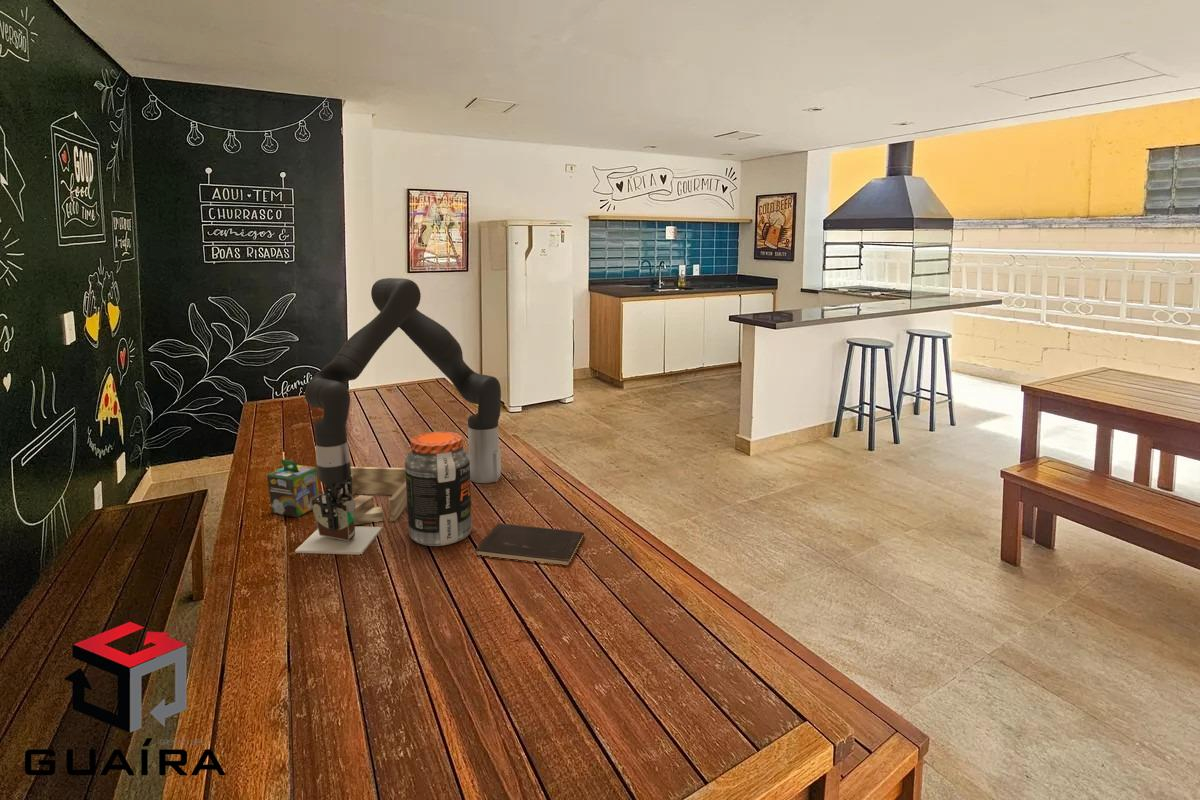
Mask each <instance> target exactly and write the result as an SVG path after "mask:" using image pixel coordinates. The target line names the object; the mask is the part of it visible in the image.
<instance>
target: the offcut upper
mask: <svg viewBox="0 0 1200 800" xmlns="http://www.w3.org/2000/svg"><path fill="white" fill-rule="evenodd" d="M353 498H354V497H353ZM354 500H355V503H356V507H355V508H354V518H355V519H357V518H359V517H360V516H361V515H363V514H364V513H366V512H367V511H369V510H370V509H372V508H374V507H375V504H374V496H372V495H366V494H358V496H356V497H355V498H354Z"/></svg>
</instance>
